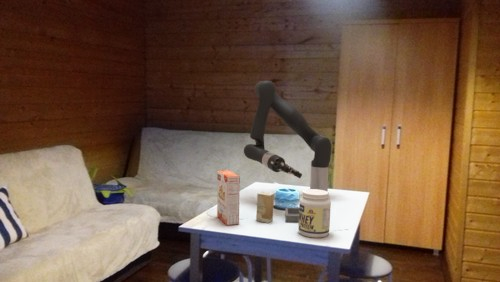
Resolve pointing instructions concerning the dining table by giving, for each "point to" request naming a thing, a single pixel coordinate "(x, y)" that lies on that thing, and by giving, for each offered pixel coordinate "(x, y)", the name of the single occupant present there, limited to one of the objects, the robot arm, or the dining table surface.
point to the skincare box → (265, 207)
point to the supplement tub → (314, 213)
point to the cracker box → (228, 197)
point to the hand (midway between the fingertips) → (294, 173)
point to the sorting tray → (292, 215)
